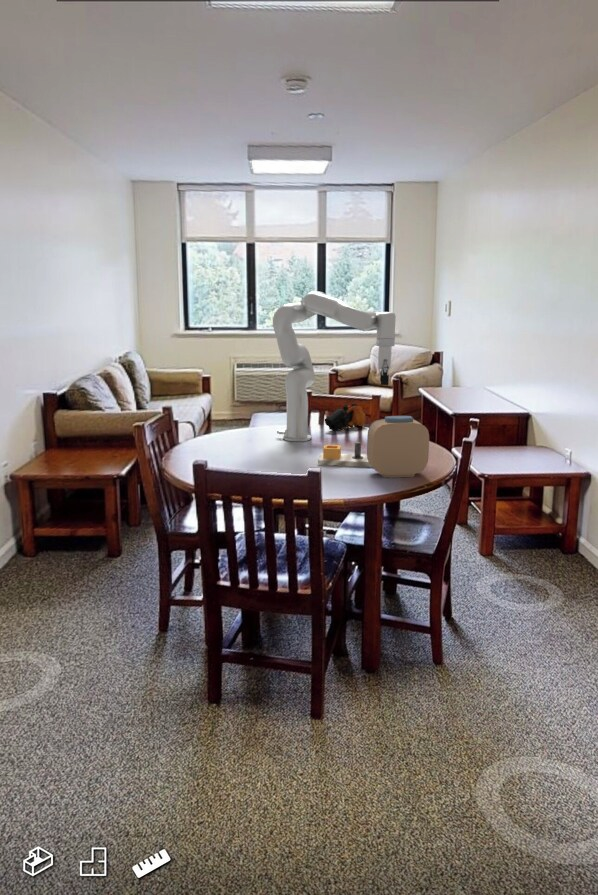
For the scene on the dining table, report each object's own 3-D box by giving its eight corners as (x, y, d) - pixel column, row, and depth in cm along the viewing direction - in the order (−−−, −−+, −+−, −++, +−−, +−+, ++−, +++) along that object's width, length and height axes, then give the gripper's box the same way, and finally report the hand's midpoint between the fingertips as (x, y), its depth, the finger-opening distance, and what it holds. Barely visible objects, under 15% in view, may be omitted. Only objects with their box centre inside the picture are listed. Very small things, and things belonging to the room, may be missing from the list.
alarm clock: (419, 470, 258) (422, 413, 253) (427, 476, 249) (430, 418, 244) (366, 471, 256) (367, 414, 251) (372, 478, 246) (373, 419, 241)
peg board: (317, 465, 265) (318, 445, 263) (320, 457, 276) (321, 438, 275) (375, 467, 262) (375, 446, 260) (375, 459, 274) (376, 440, 272)
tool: (328, 444, 332) (320, 417, 325) (358, 421, 343) (351, 394, 337) (340, 447, 326) (332, 419, 319) (370, 423, 338) (363, 396, 331)
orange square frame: (323, 458, 267) (323, 448, 266) (324, 454, 273) (324, 444, 272) (339, 459, 266) (339, 449, 265) (340, 455, 272) (340, 445, 271)
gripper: (376, 340, 294) (375, 380, 298) (376, 343, 277) (375, 386, 281) (393, 340, 293) (392, 380, 297) (395, 344, 276) (394, 386, 280)
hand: (384, 383), depth 289 cm, fingers open, 9 cm apart
